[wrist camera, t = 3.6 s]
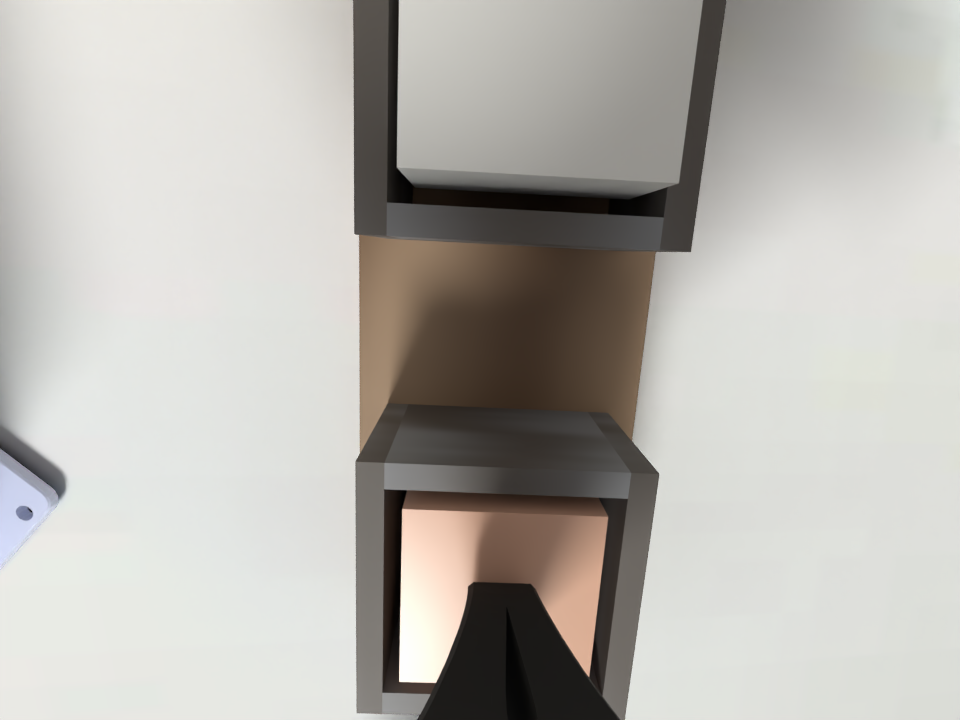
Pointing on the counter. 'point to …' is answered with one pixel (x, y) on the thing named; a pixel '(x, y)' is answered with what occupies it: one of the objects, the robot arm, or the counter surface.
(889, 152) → the counter surface
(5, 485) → the robot arm
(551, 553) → the clay key
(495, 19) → the white key
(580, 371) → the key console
